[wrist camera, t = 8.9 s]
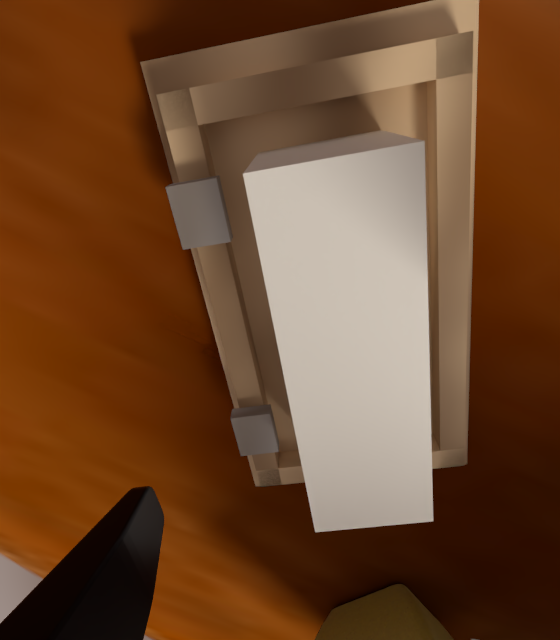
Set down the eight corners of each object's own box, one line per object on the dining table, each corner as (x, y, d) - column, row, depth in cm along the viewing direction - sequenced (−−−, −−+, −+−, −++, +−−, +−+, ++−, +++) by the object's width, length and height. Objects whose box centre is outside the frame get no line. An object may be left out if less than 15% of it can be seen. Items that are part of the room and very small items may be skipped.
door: (381, 129, 14) (424, 141, 9) (400, 423, 19) (433, 521, 14) (258, 152, 14) (242, 173, 10) (309, 433, 19) (315, 532, 15)
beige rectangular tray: (466, -2, 13) (504, -25, 11) (459, 448, 21) (480, 492, 18) (149, 65, 14) (121, 56, 12) (257, 470, 22) (252, 514, 19)
